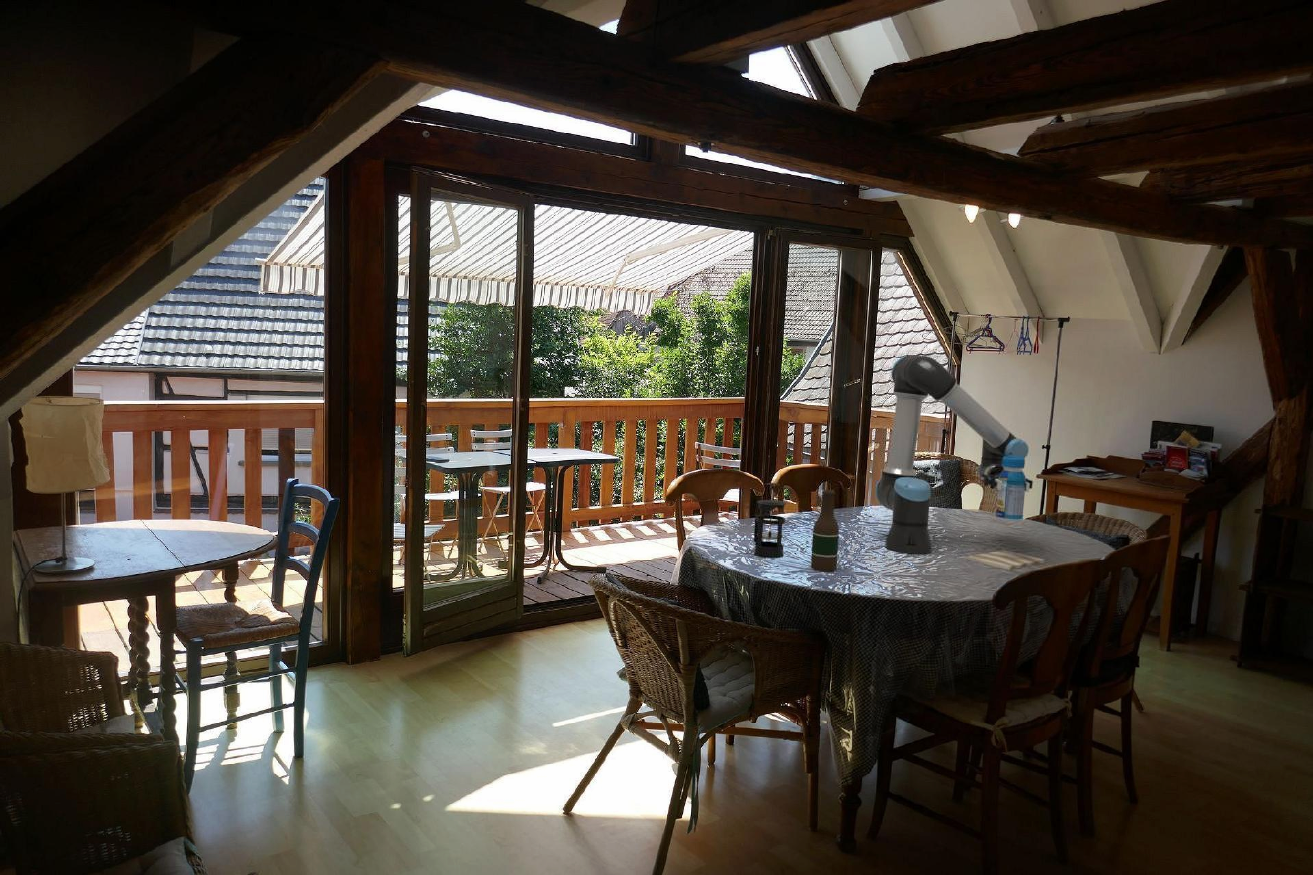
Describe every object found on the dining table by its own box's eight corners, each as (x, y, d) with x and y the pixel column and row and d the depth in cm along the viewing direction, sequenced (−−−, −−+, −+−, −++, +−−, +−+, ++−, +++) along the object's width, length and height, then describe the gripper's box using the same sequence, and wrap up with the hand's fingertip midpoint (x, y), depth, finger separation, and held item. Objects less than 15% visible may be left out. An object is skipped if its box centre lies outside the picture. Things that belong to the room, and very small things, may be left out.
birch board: (1009, 569, 297) (1009, 566, 297) (967, 559, 309) (967, 556, 309) (1043, 562, 309) (1044, 559, 309) (1002, 553, 321) (1002, 550, 321)
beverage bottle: (1016, 522, 302) (1021, 460, 299) (990, 518, 307) (995, 457, 305) (1027, 519, 308) (1032, 458, 305) (1002, 515, 313) (1006, 455, 311)
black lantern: (791, 556, 302) (795, 484, 300) (769, 559, 297) (773, 486, 294) (765, 549, 312) (769, 479, 309) (744, 552, 306) (748, 481, 304)
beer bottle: (805, 568, 288) (810, 489, 286) (820, 564, 294) (825, 487, 291) (826, 573, 283) (831, 493, 280) (841, 569, 288) (847, 491, 286)
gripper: (1028, 489, 325) (1046, 500, 303) (966, 485, 328) (979, 496, 305) (1030, 467, 324) (1048, 477, 302) (967, 463, 327) (981, 473, 304)
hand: (1014, 486), depth 304 cm, fingers closed on beverage bottle, 8 cm apart
